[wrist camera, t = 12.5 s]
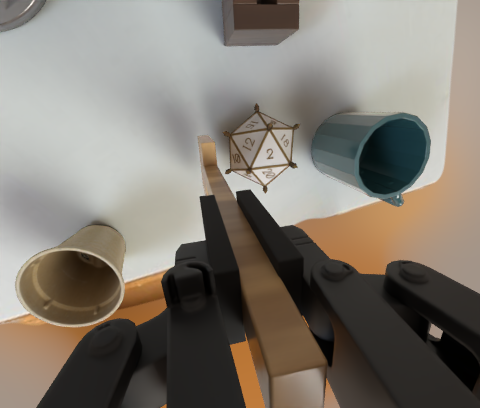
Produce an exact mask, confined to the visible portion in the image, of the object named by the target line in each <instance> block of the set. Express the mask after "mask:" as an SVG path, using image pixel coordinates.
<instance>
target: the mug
mask: <svg viewBox="0 0 480 408" xmlns="http://www.w3.org/2000/svg"><path fill="white" fill-rule="evenodd" d="M430 145H431V140H430V136H429V132H428V129H427V126H426V125H425V124H424V123H423V122H422V121H421V120H420V119H419V118H418V117H417V116H414V115H411V114H407V113H401V112H346V113H339V114H335V115H333V116H331V117H330V118H328V119H327V120H326V121H324V122H323V123H322V124H321V126H320V127H319V128H318V130H317V131H316V133H315V135H314V138H313V141H312V147H311V154H312V159H313V162H314V165H315V166H316V168H317V169H318V170H319V171H320V172H321V173H323V174H324V175H326V176H327V177H329V178H332V179H334V180H336V181H338V182H340V183H342V184H344V185H347V186H349V187H351V188H353V189H355V190H357V191H359V192H362V193H364V194H366V195H368V196H370V197H374V198H379V199H381V200H383V201H385V202H388V203H390V204H392V205H394V206H397V207H399V206H402V205H403V203H404V200H403V197H402V194H401V193H402V192H404V191H405V190H407V189H408V188H410V187H411V186H412V185H413V184H414V183H415V181H416V180H417V179H418V178H419V176H420V175H421V174H422V173H423V170H424V168H425V166H426V164H427V161H428V159H429V154H430Z"/></svg>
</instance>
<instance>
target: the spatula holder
mask: <svg viewBox="0 0 480 408" xmlns="http://www.w3.org/2000/svg"><path fill="white" fill-rule="evenodd" d="M222 11H223V26H224V41H225V46H262V45H278V44H279V43H281V42H282V41H283V40H285V39H286V38H288V37H289V36H290V35H292V34H293V33H294V32H296V31H297V30H298V29H299V0H222Z"/></svg>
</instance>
